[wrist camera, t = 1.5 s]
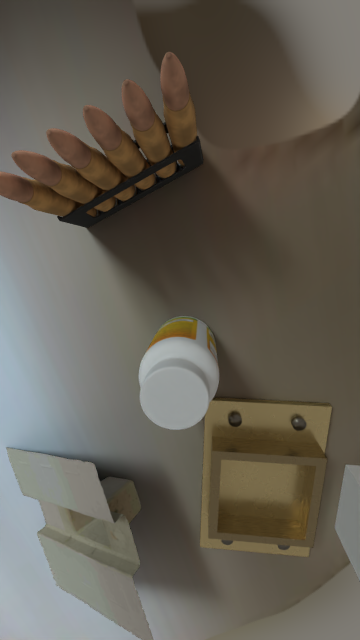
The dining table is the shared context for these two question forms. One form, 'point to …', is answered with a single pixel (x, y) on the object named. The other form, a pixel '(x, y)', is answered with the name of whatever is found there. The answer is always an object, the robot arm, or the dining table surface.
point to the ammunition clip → (112, 156)
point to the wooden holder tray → (263, 474)
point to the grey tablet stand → (87, 533)
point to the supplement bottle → (179, 373)
